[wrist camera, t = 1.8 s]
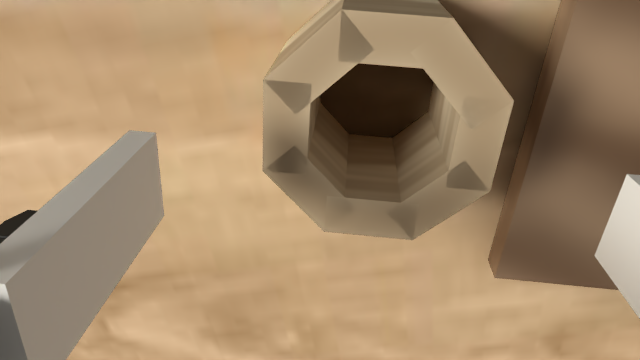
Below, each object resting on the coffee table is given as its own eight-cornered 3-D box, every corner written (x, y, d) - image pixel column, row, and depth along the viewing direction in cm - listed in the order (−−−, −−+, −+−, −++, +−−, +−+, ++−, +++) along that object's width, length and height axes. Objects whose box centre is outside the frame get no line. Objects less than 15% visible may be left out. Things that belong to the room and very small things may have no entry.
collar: (289, -19, 20) (263, 3, 15) (488, -4, 20) (534, 24, 15) (284, 158, 24) (262, 225, 19) (450, 173, 24) (475, 245, 19)
